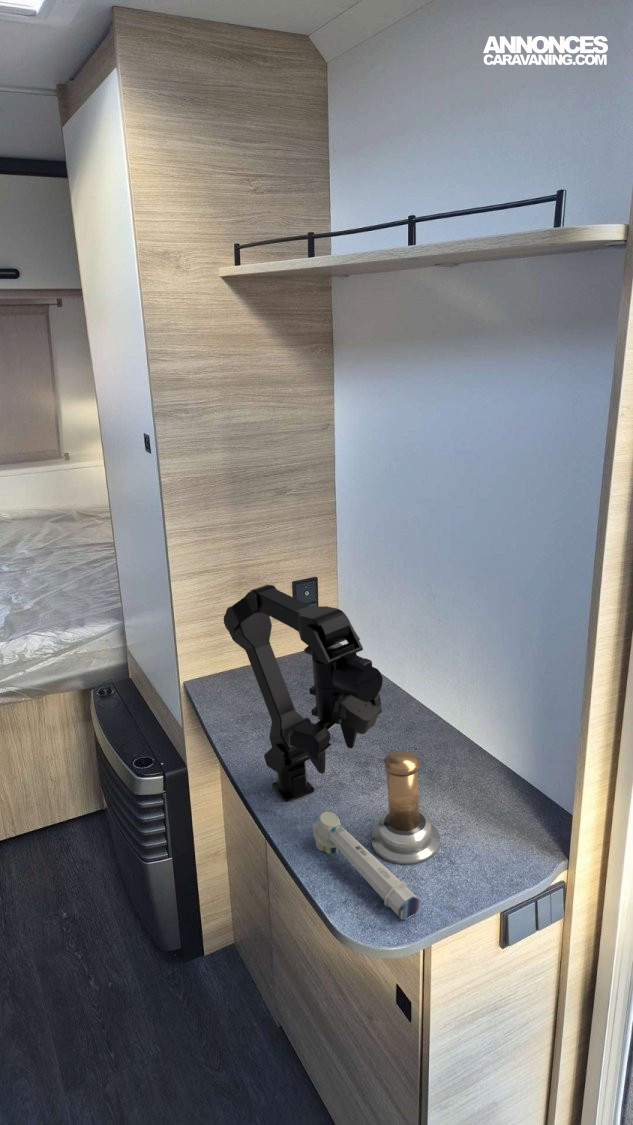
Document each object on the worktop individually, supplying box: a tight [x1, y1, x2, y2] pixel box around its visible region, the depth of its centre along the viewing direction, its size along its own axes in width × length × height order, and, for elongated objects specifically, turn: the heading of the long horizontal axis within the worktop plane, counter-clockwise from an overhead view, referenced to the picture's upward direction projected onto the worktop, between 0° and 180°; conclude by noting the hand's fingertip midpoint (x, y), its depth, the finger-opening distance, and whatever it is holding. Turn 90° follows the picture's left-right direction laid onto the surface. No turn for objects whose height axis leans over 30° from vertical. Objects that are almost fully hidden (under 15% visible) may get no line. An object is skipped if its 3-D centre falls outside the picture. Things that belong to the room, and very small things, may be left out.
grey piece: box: [312, 811, 421, 921], centre depth 131 cm, size 5×7×25 cm
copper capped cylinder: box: [384, 750, 420, 831], centre depth 135 cm, size 6×6×12 cm
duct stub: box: [370, 808, 441, 866], centre depth 138 cm, size 12×12×4 cm
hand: (336, 759), depth 141 cm, fingers open, 9 cm apart
